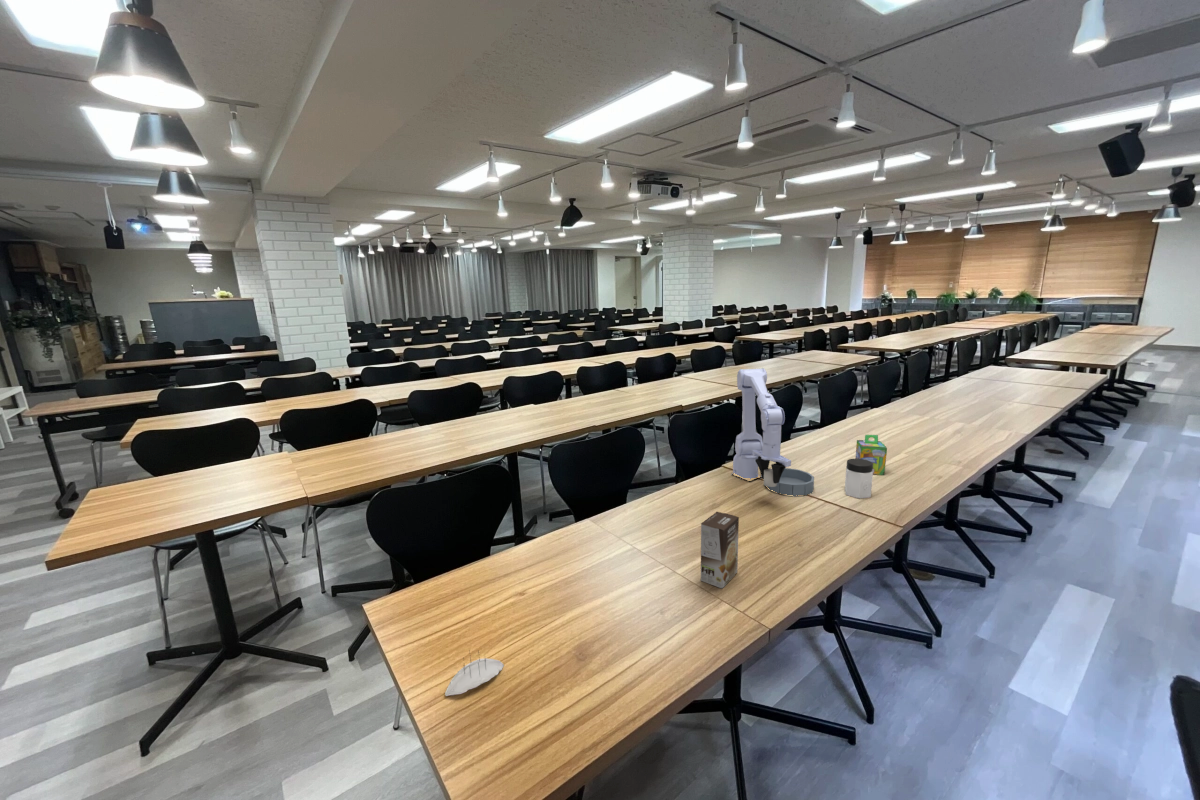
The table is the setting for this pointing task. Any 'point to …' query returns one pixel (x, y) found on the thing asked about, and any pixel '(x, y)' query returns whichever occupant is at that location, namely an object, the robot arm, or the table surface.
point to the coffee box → (719, 549)
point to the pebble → (769, 478)
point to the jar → (858, 478)
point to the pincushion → (473, 675)
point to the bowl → (794, 482)
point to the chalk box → (872, 453)
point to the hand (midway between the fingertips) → (770, 480)
